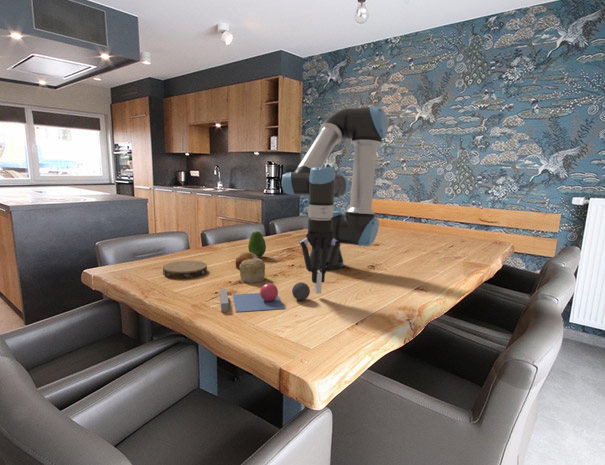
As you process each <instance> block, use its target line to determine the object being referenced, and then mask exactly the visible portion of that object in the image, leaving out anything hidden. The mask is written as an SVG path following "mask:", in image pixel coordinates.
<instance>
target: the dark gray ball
mask: <svg viewBox="0 0 605 465" xmlns="http://www.w3.org/2000/svg"><path fill="white" fill-rule="evenodd" d="M310 293H311V290H310V286H309V285H308V284H307V283H305V282H296V283H295V284H294V285H293V287H292V296H293V298H295V299H296V300H298V301H305V300H306V299H307V298H309V296H310Z"/></svg>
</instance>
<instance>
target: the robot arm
mask: <svg viewBox="0 0 605 465" xmlns="http://www.w3.org/2000/svg"><path fill="white" fill-rule="evenodd" d="M387 134H388V120H387V115H386V112H385V110H384V109H383V108H382V107H380V106H379V107H378V106H377V107H374V106H370V107H368V106H367V107H357V108H356V107H353V108H349V107H348V108H342V109H340V110H338V111H336V112H334V113H333V114H331V115H330V116H329V117H328V118H327V119H326V120H325V121H324V122H323V123H322V124H321V126H320V127H319V129H318V135H317V136H316V138H315V140H314V141H313V143H312V145H311V146H310V148H308V151H307V152H306V154H305V155H304V157H303V158H302V160H300V163H299V164H298V166H297V168H296V169H295V170H294V172H292V171H290V172H286V173H284V174H283V175H282V177H281V178H282V179H281V188H282V191H283V192H284V193H285V194H286V195H291V196H308V217H309V218H308V221H307V233H306V236H305V238H303V239H301V240H299V241H298V244H299V246H300V247H301V249H302V254H303V259H304V260H303V261H304V264H305V268H306V270H307V271H308V272H310V273H311V282H312V283H313V284H314V287H313V291H314V293H316V294H317V295H321V294H322V283H324V282H325V279H326V278H325V276H326V273H327V272H330V271H331V270H332V271H333V270H340V269H342V268H343V267H344V257H343V255H342V251H341V244H342V245H344V244H346V245H354V246H359V247H370V246H371V245H373V244H374V242H375V240H376V239H377V238H376V237H377V236H378V235H377V234H378V232H379V225H380V224H379V219H378V218H377V217H376V213H375V211H374V210H373V209H372V208H373V206H372V204H373V196H374V195H373V193H374V186H375V185H374V183H375V182H374V181H375V172H376V161H377V160H376V159H377V150H378V148H379V146H380V145H381V144H382V140H384V139H385V138H387V136H388V135H387ZM345 139H346V140H347V139H348V140H349V139H351V144H352V145H353V147H354V152H353V153H354V154H353V166H352V177H351V178H352V180H351V188H350V181H349V180H348V178H347V177H346V176H345V175H343V174H340V173H336V170H335V168H333V167H323V166H324V165H325V163H326V161H328V158H329V156H330V154H331V153H332V152H333V149H334V148H335V147H336V145H338V144H340V143H341V141H342V140H345ZM349 189H351V190H350V204H349V208H348V209H346V210H345V215H344V214H343V213H342V211H341V210H339V211H338V210H334V202H335V201H334V200H335V198H340V197H343V196H344V195H346V194H347V193H348V192H349ZM308 243H309V244H310V246H311V250H310V253H309V248H308V246H309V244H308Z"/></svg>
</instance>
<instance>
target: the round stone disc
mask: <svg viewBox="0 0 605 465" xmlns="http://www.w3.org/2000/svg"><path fill="white" fill-rule="evenodd" d="M207 267H208V264H207V263H206V262H204V261H201V260H200V261H199V260H178V261H177V260H176V261H172V262H169V263H165V264H164V265H163V266H162V274H163V276H164V277H166V278H169V279H173V280H174V279H176V280H177V279H178V280H181V279H182V280H183V279H184V280H187V279H195V278H199V277H202V276H203V275H205V274H207V273H208V268H207Z"/></svg>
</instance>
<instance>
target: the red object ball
mask: <svg viewBox="0 0 605 465" xmlns="http://www.w3.org/2000/svg"><path fill="white" fill-rule="evenodd" d="M278 289H279V288H277V286H276V285H275V284H274V283H271V282H270V283H265V284H263V285H261V288H260V289H259V293H260V296H261V298H262V299H263V300H265V301H268V302H270V301H273V300H275V299H276V297H277V295H278V296H279V290H278Z"/></svg>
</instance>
